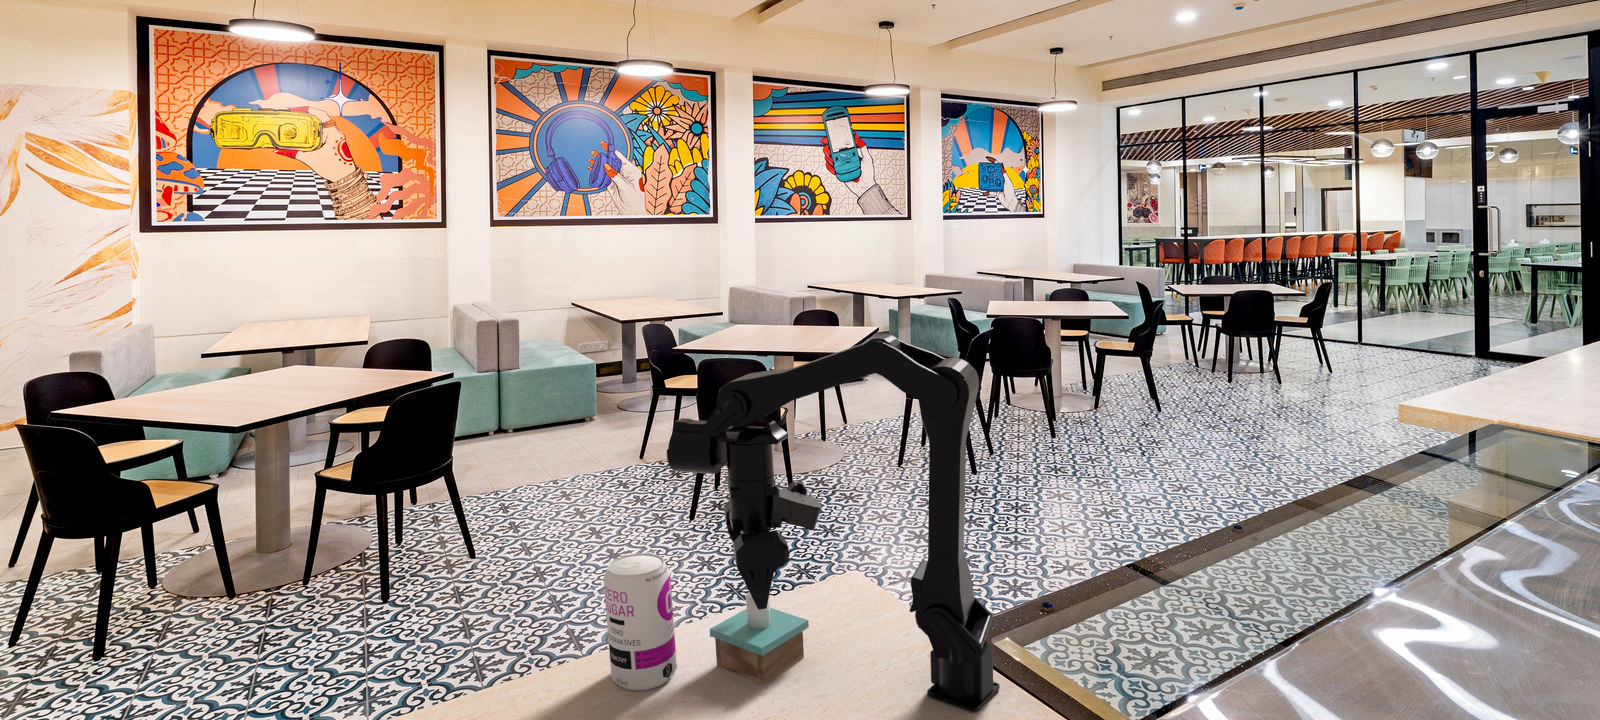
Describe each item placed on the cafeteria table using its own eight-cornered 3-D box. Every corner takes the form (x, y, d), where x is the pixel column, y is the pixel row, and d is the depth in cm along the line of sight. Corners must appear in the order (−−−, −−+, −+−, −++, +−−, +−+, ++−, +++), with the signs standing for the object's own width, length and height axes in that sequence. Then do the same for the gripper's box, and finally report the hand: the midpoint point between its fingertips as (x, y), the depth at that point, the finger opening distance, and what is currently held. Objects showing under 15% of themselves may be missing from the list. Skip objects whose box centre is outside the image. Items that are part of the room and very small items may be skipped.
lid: (809, 634, 112) (806, 590, 111) (762, 663, 105) (760, 617, 104) (757, 617, 117) (755, 575, 116) (710, 643, 110) (707, 599, 109)
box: (804, 659, 112) (802, 627, 111) (763, 686, 106) (762, 652, 105) (757, 643, 117) (756, 612, 116) (717, 668, 111) (714, 635, 110)
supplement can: (683, 659, 113) (675, 551, 111) (667, 693, 105) (659, 577, 102) (623, 659, 114) (614, 551, 111) (603, 693, 106) (593, 577, 103)
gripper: (828, 491, 100) (834, 617, 102) (802, 451, 118) (807, 559, 120) (732, 500, 98) (740, 629, 100) (720, 458, 116) (727, 568, 119)
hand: (757, 593), depth 110 cm, fingers open, 9 cm apart
